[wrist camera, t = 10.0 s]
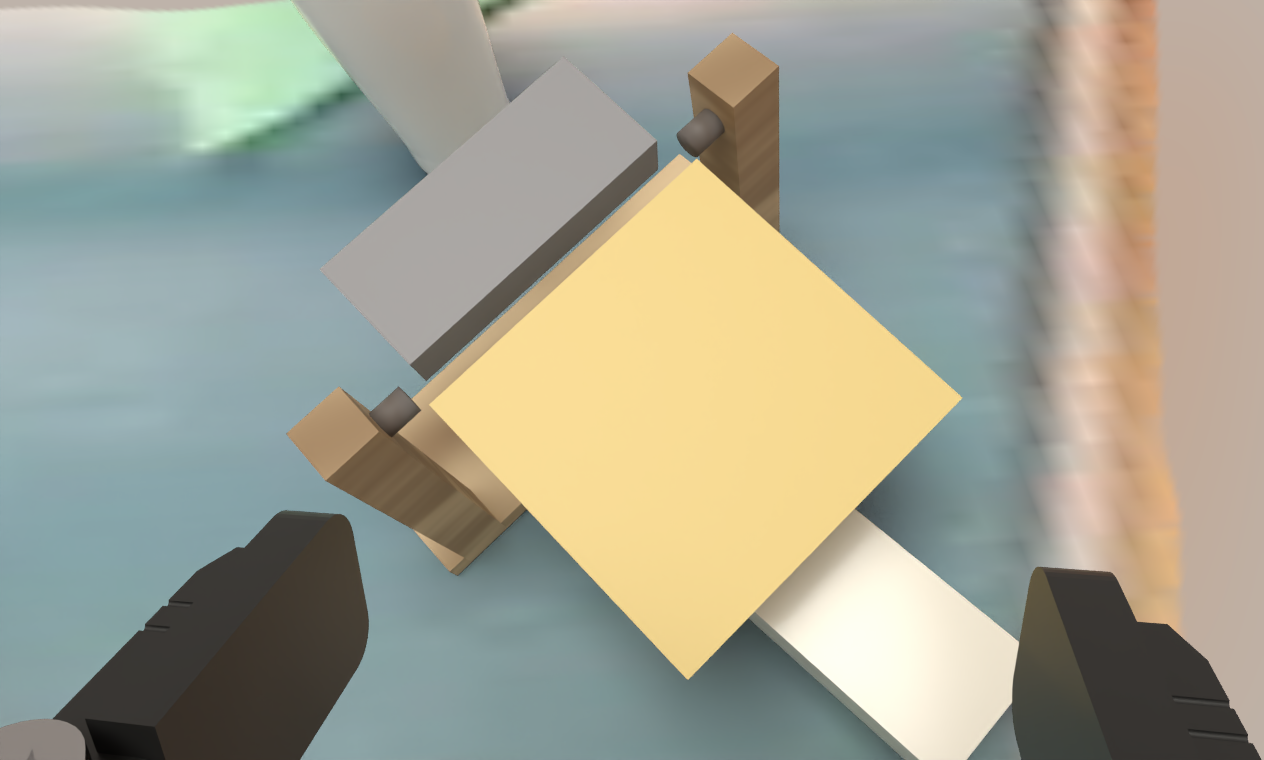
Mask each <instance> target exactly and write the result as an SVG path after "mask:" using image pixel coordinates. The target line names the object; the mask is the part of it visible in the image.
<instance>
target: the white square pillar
mask: <svg viewBox="0 0 1264 760" xmlns="http://www.w3.org/2000/svg"><path fill="white" fill-rule="evenodd" d="M749 619H750V620H751V621H752V622H753V623H754V624H755V625H757V626H758V627H759V628H760V629H761V630H762V631H763V632H764V633H765V634H766V635H768V636H769V637H770V638H771V639H772V640H773V641H774V642H775V643H776V644H778V645H779V646H780V647H781V648H782V649H783V650H784V651H785V652H786V653H787V654H789V655H790V656H791V657H792V658H793V659H794V660H795V661H796V662H797V663H799V664H800V665H801V666H802V667H803V668H804V669H805V670H806V671H807V672H808V673H810V674H811V675H812V676H813V677H814V678H815V679H816V680H817V681H818V682H820V683H821V684H822V685H823V686H824V687H825V688H826V689H827V690H828V691H829V692H831V693H832V694H833V695H834V696H835V697H836V698H837V699H838V700H839V701H841V702H842V703H843V704H844V705H845V706H846V707H847V708H848V709H849V710H850V711H852V712H853V713H854V714H855V715H856V716H857V717H858V718H859V719H860V720H861V721H863V722H864V723H865V724H866V725H867V726H868V727H869V728H870V729H871V730H873V731H874V732H875V733H876V734H877V735H878V736H879V737H880V738H881V739H882V740H884V741H885V742H886V743H887V744H888V745H889V746H890V747H891V748H892V749H894V750H895V751H896V752H897V753H898V754H899V755H900V756H901V757H902V758H903V759H905V760H967V758H968V757H969V756H970V755H971V753H972V752H973V751H974V750H975V748H976V747H977V746H978V745H979V743H980V742H981V741H982V739H983V738H984V737H985V736H986V734H987V733H988V732H989V731H990V729H991V728H992V727H993V726H994V724H995V723H996V722H997V721H998V719H999V718H1000V717H1001V716H1002V714H1003V713H1004V712H1005V710H1006V709H1007V708H1008V707H1009V705H1010V704H1011V703H1012V685H1013V676H1014V670H1015V664H1016V658H1017V652H1018V647H1019V642H1018V641H1017V640H1016V639H1015V638H1013V637H1012V636H1011V635H1010V634H1008V633H1007V632H1006V631H1005V630H1003V629H1002V628H1001V627H1000V626H999V625H997V624H996V623H995V622H994V621H992V620H991V619H990V618H989V617H987V616H986V615H985V614H984V613H983V612H981V611H980V610H979V609H978V608H976V607H975V606H974V605H973V604H971V603H970V602H969V601H968V600H967V599H965V598H964V597H963V596H962V595H960V594H959V593H958V592H957V591H955V590H954V589H953V588H952V587H951V586H949V585H948V584H947V583H946V582H944V581H943V580H942V579H941V578H939V577H938V576H937V575H936V574H935V573H933V572H932V571H931V570H930V569H928V568H927V567H926V566H925V565H923V564H922V563H921V562H920V561H919V560H917V559H916V558H915V557H914V556H912V555H911V554H910V553H909V552H907V551H906V550H905V549H904V548H903V547H901V546H900V545H899V544H898V543H896V542H895V541H894V540H893V539H891V538H890V537H889V536H888V535H887V534H885V533H884V532H883V531H882V530H880V529H879V528H878V527H877V526H875V525H874V524H873V523H872V522H871V521H869V520H868V519H867V518H866V517H864V516H863V515H862V514H861V513H859V512H858V511H857V510H856V509H854V510H853V511H852V512H851V513H850V514H849V515H848V516H847V517H846V518H845V519H844V520H843V521H842V522H841V523H840V524H839V525H838V526H837V527H836V528H835V529H834V530H833V531H832V532H831V533H830V535H829V536H828V537H827V538H826V539H825V540H824V541H823V542H822V543H821V544H820V545H819V546H818V547H817V548H816V549H815V550H814V551H813V552H812V553H811V554H810V555H809V556H808V557H807V558H806V559H805V560H804V561H803V562H802V563H801V564H800V565H799V566H798V567H797V568H796V569H795V570H794V572H793V573H792V574H791V575H790V576H789V577H788V578H787V579H786V580H785V581H784V582H783V583H782V584H781V585H780V586H779V587H778V588H777V589H776V590H775V591H774V592H773V593H772V594H771V595H770V596H769V597H768V598H767V599H766V600H765V601H764V602H763V603H762V604H761V605H760V606H759V607H758V609H757V610H756V611H755V612H754V613H753V614H752V615H751V616H750V617H749Z"/></svg>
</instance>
